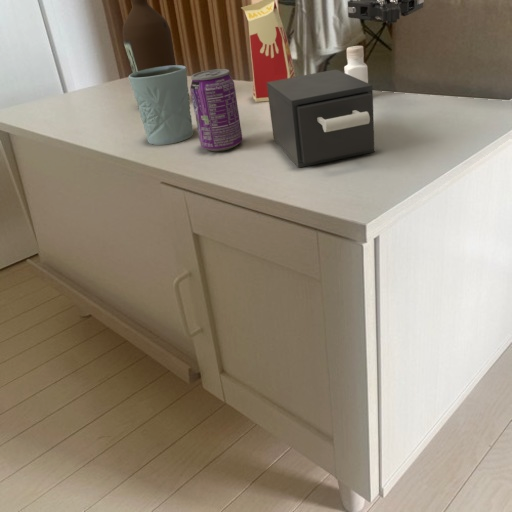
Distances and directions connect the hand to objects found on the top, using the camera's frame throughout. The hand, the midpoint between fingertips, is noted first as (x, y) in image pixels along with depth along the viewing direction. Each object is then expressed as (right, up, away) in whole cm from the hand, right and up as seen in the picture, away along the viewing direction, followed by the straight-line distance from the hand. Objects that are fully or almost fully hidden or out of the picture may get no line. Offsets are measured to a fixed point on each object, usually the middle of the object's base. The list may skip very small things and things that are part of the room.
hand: (392, 16), depth 82 cm
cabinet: (-11, -20, +2) cm, 22 cm away
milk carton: (-17, -2, +36) cm, 40 cm away
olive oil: (-43, -1, +44) cm, 61 cm away
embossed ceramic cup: (-37, -15, +18) cm, 43 cm away
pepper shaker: (-1, -6, +25) cm, 25 cm away
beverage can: (-26, -18, +9) cm, 33 cm away
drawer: (-10, -21, -2) cm, 23 cm away
